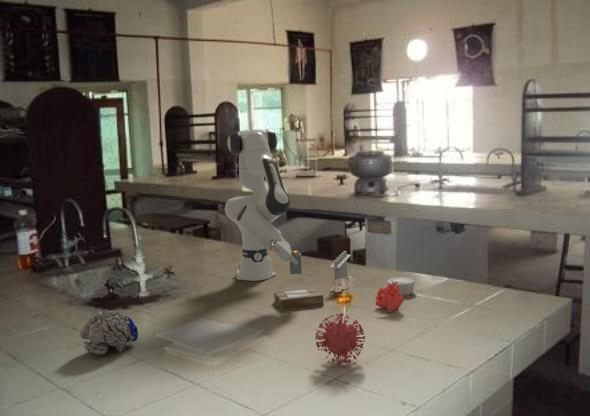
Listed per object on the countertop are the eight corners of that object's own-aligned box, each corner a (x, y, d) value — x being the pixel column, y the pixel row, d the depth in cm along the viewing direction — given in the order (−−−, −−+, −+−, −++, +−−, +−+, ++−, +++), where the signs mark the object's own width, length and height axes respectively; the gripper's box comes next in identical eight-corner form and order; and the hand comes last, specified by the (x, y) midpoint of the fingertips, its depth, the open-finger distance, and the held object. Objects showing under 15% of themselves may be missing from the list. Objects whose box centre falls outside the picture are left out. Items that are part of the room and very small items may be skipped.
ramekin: (386, 296, 256) (385, 283, 256) (388, 289, 267) (388, 276, 266) (414, 297, 254) (413, 284, 253) (415, 289, 264) (415, 277, 264)
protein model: (378, 309, 244) (381, 279, 245) (406, 314, 237) (409, 283, 238) (367, 309, 237) (370, 278, 238) (396, 314, 230) (399, 282, 231)
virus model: (306, 363, 189) (304, 316, 187) (339, 349, 199) (337, 304, 197) (343, 376, 179) (341, 326, 177) (375, 361, 189) (374, 313, 187)
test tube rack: (342, 277, 289) (341, 249, 288) (352, 278, 288) (351, 249, 286) (330, 292, 266) (328, 262, 264) (340, 292, 265) (339, 262, 263)
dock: (274, 302, 255) (274, 292, 254) (314, 297, 260) (313, 287, 259) (282, 310, 244) (281, 299, 243) (323, 304, 248) (323, 294, 248)
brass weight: (291, 254, 250) (291, 250, 250) (298, 254, 250) (298, 250, 250) (291, 256, 247) (291, 252, 247) (298, 255, 247) (298, 251, 247)
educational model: (138, 364, 210) (151, 320, 214) (95, 357, 194) (109, 309, 197) (109, 356, 218) (122, 313, 221) (65, 349, 201) (79, 302, 205)
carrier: (290, 271, 252) (289, 252, 251) (301, 270, 252) (300, 252, 251) (290, 274, 247) (289, 255, 246) (301, 273, 247) (301, 255, 246)
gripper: (276, 237, 237) (303, 261, 238) (276, 228, 257) (301, 250, 259) (265, 249, 237) (292, 273, 239) (266, 239, 258) (290, 261, 259)
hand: (296, 261), depth 249 cm, fingers closed on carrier, 5 cm apart
